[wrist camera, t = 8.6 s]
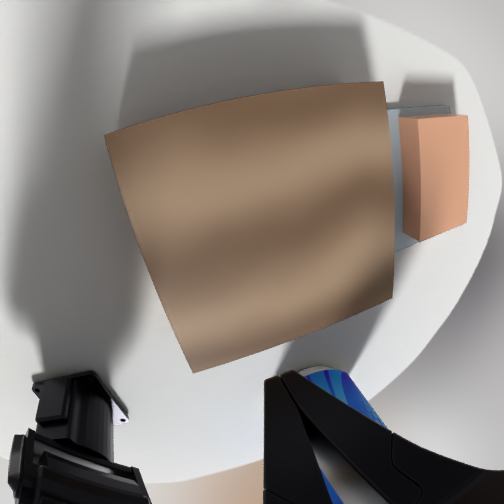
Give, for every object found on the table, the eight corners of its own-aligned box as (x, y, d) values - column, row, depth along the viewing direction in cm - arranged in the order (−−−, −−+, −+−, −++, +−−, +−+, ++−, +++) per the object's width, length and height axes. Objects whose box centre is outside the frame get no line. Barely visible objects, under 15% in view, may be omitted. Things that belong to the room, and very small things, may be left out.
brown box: (361, 272, 24) (392, 297, 20) (185, 334, 22) (193, 373, 18) (344, 84, 18) (383, 81, 14) (115, 131, 15) (103, 135, 12)
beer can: (255, 381, 26) (333, 550, 12) (344, 346, 27) (451, 483, 13) (271, 429, 29) (333, 558, 15) (344, 398, 31) (422, 512, 17)
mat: (447, 227, 25) (450, 229, 25) (361, 261, 24) (364, 263, 23) (445, 105, 20) (449, 106, 20) (349, 113, 19) (352, 114, 18)
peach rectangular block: (419, 242, 21) (403, 232, 23) (466, 222, 22) (450, 215, 24) (417, 119, 17) (398, 117, 19) (467, 115, 18) (449, 113, 20)
